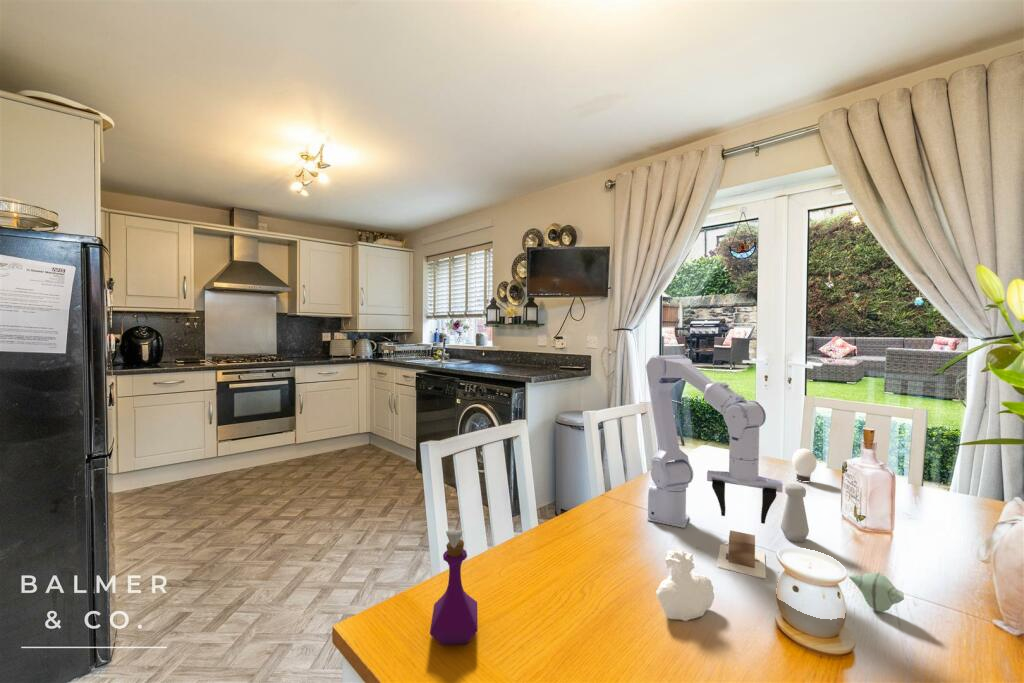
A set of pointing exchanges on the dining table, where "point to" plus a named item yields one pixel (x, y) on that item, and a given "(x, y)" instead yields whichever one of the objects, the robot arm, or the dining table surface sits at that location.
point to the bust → (684, 588)
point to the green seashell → (877, 590)
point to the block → (742, 549)
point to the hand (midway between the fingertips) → (742, 518)
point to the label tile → (757, 571)
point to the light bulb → (804, 464)
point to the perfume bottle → (454, 600)
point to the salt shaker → (795, 514)
